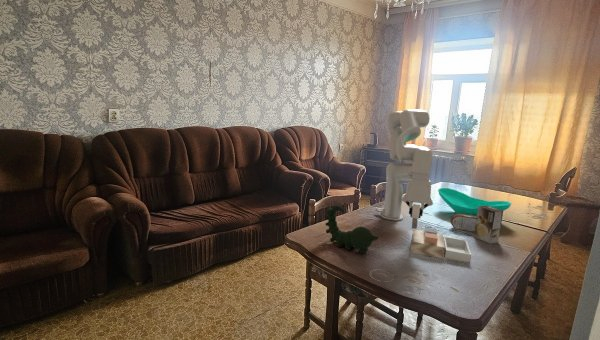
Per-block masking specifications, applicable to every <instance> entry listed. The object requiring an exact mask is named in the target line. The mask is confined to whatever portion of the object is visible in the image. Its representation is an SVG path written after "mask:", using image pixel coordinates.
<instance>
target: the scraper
mask: <svg viewBox="0 0 600 340" xmlns="http://www.w3.org/2000/svg"><path fill="white" fill-rule="evenodd" d="M412 206H413V210H412V217H411V219H412V221H411V222H412V223H411V229H416V230H418V220H420V218H419V213H420V207H421V203H415V202H413V204H412Z"/></svg>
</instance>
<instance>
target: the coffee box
mask: <svg viewBox="0 0 600 340" xmlns="http://www.w3.org/2000/svg"><path fill="white" fill-rule="evenodd" d="M503 214H504V211H502V210H499V209H496V208H493V207H490V206H487V205H486V206H479V207H478V213H477V219H476V225H475V232H473V233H474V234H473V237H474V238H476V239H478V240H481V241H483V242H485V243H487V244H497V243H499V238H500V233H501V232H500V231H501V227H502V222H503V216H504V215H503Z"/></svg>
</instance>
